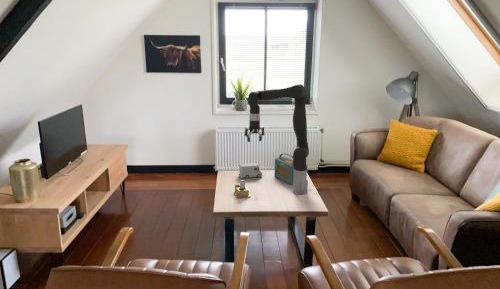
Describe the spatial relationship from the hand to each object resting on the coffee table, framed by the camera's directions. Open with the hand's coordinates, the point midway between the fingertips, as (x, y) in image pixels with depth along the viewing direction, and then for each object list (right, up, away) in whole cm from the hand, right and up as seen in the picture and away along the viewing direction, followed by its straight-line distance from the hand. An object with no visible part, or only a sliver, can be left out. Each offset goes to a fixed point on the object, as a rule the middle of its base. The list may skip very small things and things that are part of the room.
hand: (254, 141), depth 266 cm
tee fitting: (-9, -37, -12) cm, 40 cm away
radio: (+26, -30, +21) cm, 45 cm away
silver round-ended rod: (-8, -36, -14) cm, 40 cm away
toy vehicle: (-3, -28, +27) cm, 39 cm away
